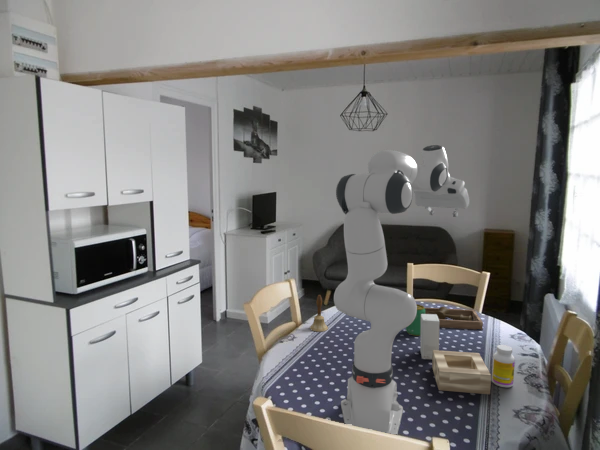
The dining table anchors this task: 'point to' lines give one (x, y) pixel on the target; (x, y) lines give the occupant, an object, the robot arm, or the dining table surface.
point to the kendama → (444, 313)
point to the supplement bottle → (503, 366)
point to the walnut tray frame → (459, 323)
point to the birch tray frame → (461, 372)
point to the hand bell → (319, 318)
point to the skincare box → (429, 335)
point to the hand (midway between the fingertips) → (443, 215)
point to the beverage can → (416, 322)
